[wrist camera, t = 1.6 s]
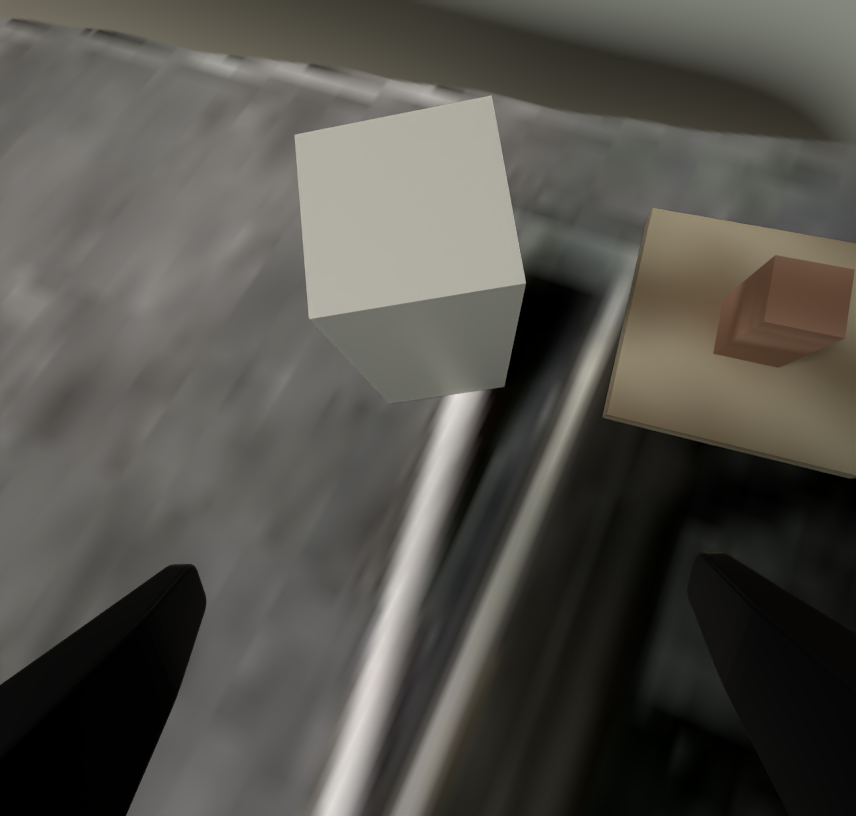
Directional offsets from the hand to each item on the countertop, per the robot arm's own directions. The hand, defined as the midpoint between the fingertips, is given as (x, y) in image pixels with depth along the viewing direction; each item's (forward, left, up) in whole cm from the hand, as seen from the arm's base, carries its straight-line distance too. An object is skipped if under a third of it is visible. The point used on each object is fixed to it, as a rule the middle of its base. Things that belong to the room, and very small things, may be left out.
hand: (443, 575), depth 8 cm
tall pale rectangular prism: (+7, -5, -12) cm, 15 cm away
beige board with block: (-2, -15, -12) cm, 19 cm away
